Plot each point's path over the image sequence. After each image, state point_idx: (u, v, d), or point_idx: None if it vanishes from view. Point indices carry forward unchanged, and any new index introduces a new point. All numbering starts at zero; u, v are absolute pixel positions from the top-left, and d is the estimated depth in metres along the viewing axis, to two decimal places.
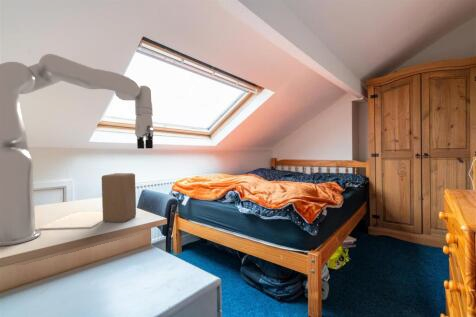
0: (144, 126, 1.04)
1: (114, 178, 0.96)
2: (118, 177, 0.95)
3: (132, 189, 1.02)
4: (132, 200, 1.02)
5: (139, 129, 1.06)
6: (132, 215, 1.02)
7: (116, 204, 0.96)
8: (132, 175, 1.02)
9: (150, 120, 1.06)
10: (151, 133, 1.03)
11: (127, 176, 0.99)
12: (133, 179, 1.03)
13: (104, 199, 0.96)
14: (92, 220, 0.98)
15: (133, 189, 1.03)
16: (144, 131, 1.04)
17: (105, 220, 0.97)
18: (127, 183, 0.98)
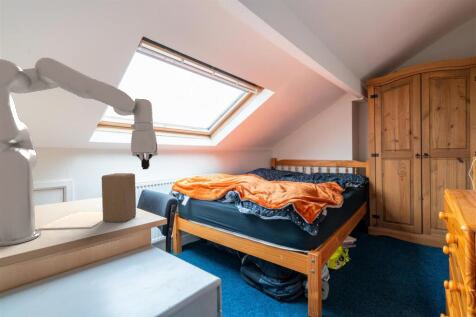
0: (154, 143, 0.99)
1: (114, 178, 0.96)
2: (118, 177, 0.95)
3: (132, 189, 1.02)
4: (132, 200, 1.02)
5: (145, 146, 0.98)
6: (132, 215, 1.02)
7: (116, 204, 0.96)
8: (132, 175, 1.02)
9: (155, 136, 1.02)
10: (153, 155, 1.01)
11: (127, 176, 0.99)
12: (133, 179, 1.03)
13: (104, 199, 0.96)
14: (92, 220, 0.98)
15: (133, 189, 1.03)
16: (154, 148, 0.99)
17: (105, 220, 0.97)
18: (127, 183, 0.98)
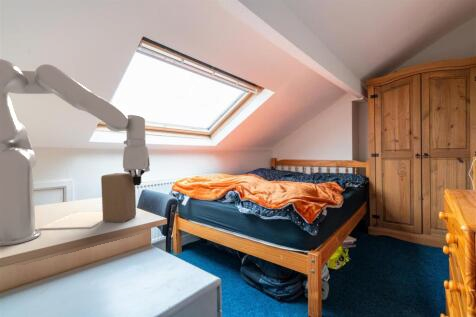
0: (146, 159, 0.99)
1: (114, 178, 0.96)
2: (118, 177, 0.95)
3: (132, 189, 1.03)
4: (132, 199, 1.02)
5: (137, 162, 0.98)
6: (132, 215, 1.02)
7: (116, 204, 0.96)
8: None
9: None
10: (145, 171, 1.01)
11: (127, 176, 0.99)
12: (132, 179, 1.03)
13: (104, 199, 0.96)
14: (92, 220, 0.98)
15: (133, 189, 1.03)
16: (146, 165, 0.99)
17: (105, 220, 0.97)
18: (127, 183, 0.98)
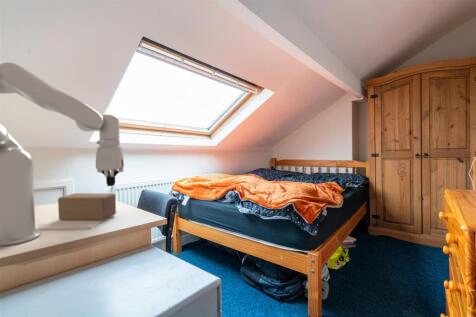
0: (119, 160, 0.98)
1: (59, 206, 0.98)
2: (58, 202, 0.98)
3: (84, 194, 1.04)
4: (94, 194, 1.04)
5: (109, 163, 0.97)
6: (108, 194, 1.03)
7: (85, 204, 0.97)
8: (71, 194, 1.05)
9: (122, 153, 1.01)
10: None
11: (65, 196, 1.01)
12: (76, 194, 1.05)
13: (80, 217, 0.97)
14: (92, 220, 0.98)
15: (85, 194, 1.05)
16: (120, 165, 0.98)
17: (101, 217, 0.97)
18: (71, 196, 1.00)
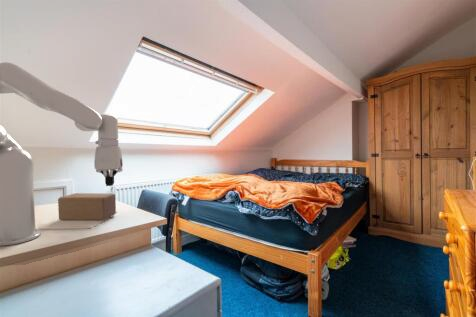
0: (118, 160, 0.98)
1: (59, 206, 0.98)
2: (58, 202, 0.98)
3: (84, 194, 1.04)
4: (94, 194, 1.04)
5: (108, 162, 0.97)
6: (108, 194, 1.03)
7: (85, 204, 0.97)
8: (71, 194, 1.05)
9: None
10: None
11: (65, 196, 1.01)
12: (76, 194, 1.05)
13: (80, 217, 0.97)
14: (92, 220, 0.98)
15: (85, 194, 1.05)
16: (118, 165, 0.98)
17: (101, 217, 0.97)
18: (71, 196, 1.00)
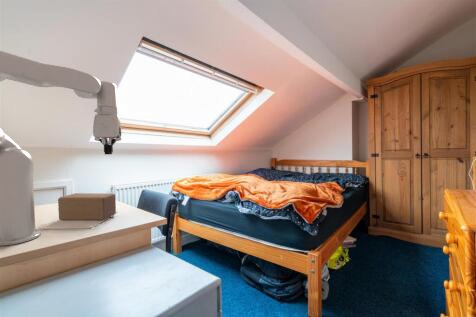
0: (117, 128, 0.98)
1: (59, 206, 0.98)
2: (58, 202, 0.98)
3: (84, 194, 1.04)
4: (94, 194, 1.04)
5: (107, 130, 0.97)
6: (108, 194, 1.03)
7: (85, 204, 0.97)
8: (71, 194, 1.05)
9: (119, 121, 1.01)
10: (117, 140, 1.00)
11: (65, 196, 1.01)
12: (76, 194, 1.05)
13: (80, 217, 0.97)
14: (92, 220, 0.98)
15: (85, 194, 1.05)
16: (117, 133, 0.98)
17: (101, 217, 0.97)
18: (71, 196, 1.00)
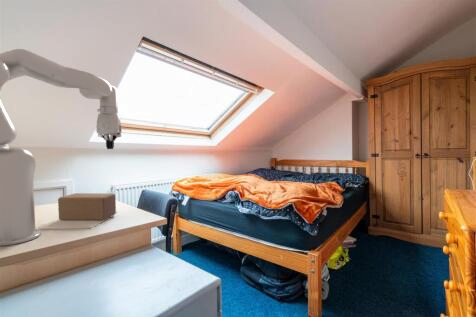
0: (118, 125, 1.11)
1: (59, 206, 0.98)
2: (58, 202, 0.98)
3: (84, 194, 1.04)
4: (94, 194, 1.04)
5: (109, 128, 1.10)
6: (108, 194, 1.03)
7: (85, 204, 0.97)
8: (71, 194, 1.05)
9: None
10: (117, 137, 1.13)
11: (65, 196, 1.01)
12: (76, 194, 1.05)
13: (80, 217, 0.97)
14: (92, 220, 0.98)
15: (85, 194, 1.05)
16: (118, 130, 1.11)
17: (101, 217, 0.97)
18: (71, 196, 1.00)
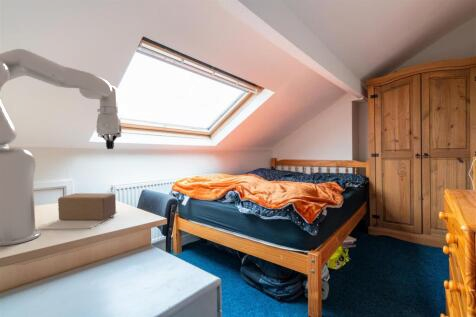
0: (118, 125, 1.11)
1: (59, 206, 0.98)
2: (58, 202, 0.98)
3: (84, 194, 1.04)
4: (94, 194, 1.04)
5: (109, 128, 1.10)
6: (108, 194, 1.03)
7: (85, 204, 0.97)
8: (71, 194, 1.05)
9: None
10: (117, 137, 1.13)
11: (65, 196, 1.01)
12: (76, 194, 1.05)
13: (80, 217, 0.97)
14: (92, 220, 0.98)
15: (85, 194, 1.05)
16: (118, 130, 1.11)
17: (101, 217, 0.97)
18: (71, 196, 1.00)
